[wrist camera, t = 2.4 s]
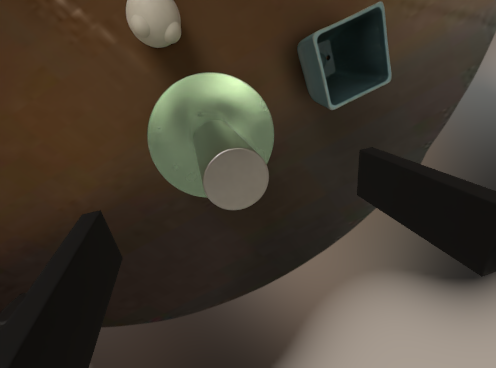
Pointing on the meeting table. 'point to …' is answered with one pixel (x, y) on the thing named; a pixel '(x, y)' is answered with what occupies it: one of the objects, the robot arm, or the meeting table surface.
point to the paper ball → (154, 21)
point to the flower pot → (347, 58)
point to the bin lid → (213, 139)
